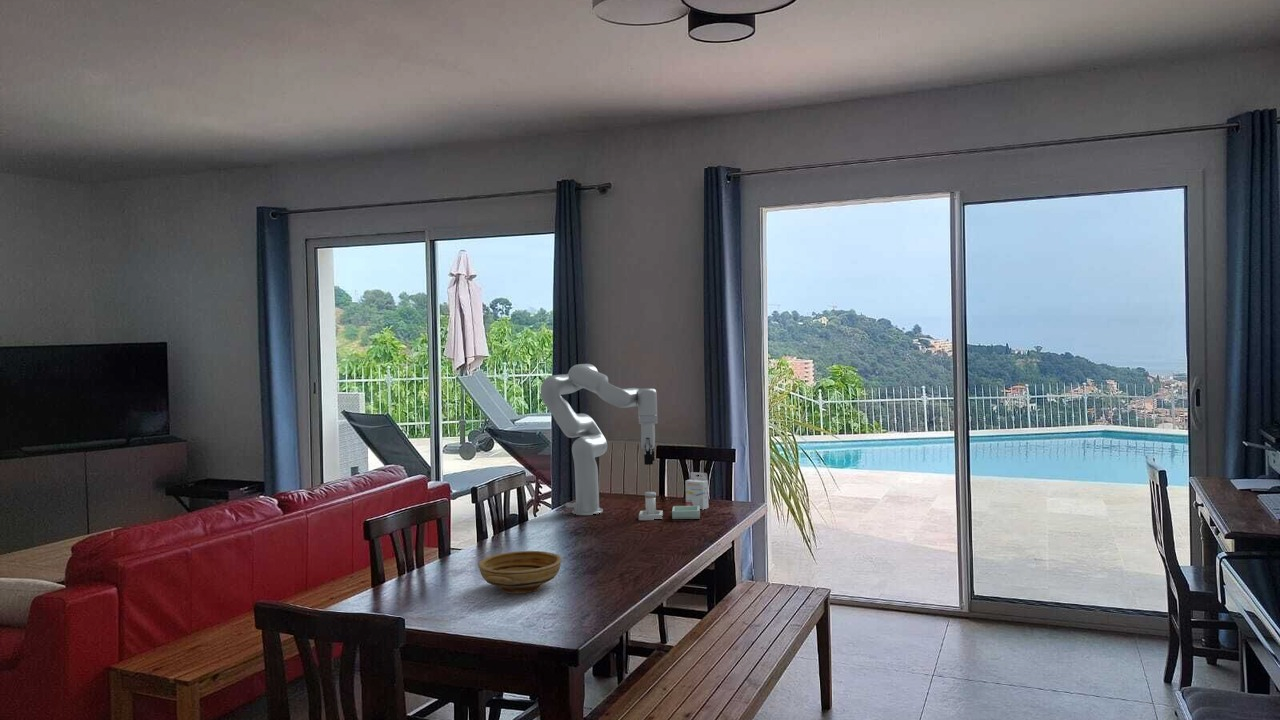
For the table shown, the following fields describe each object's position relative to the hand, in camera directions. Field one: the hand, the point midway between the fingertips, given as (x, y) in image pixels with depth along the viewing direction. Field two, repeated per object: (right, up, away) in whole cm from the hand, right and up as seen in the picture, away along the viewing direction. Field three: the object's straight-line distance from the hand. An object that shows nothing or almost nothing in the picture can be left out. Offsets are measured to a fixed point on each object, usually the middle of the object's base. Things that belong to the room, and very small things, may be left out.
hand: (649, 462), depth 349 cm
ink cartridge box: (+20, -21, +17) cm, 34 cm away
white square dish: (+1, -22, +1) cm, 22 cm away
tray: (+15, -22, -1) cm, 26 cm away
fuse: (+1, -22, +1) cm, 22 cm away
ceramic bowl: (-38, -26, -94) cm, 104 cm away
